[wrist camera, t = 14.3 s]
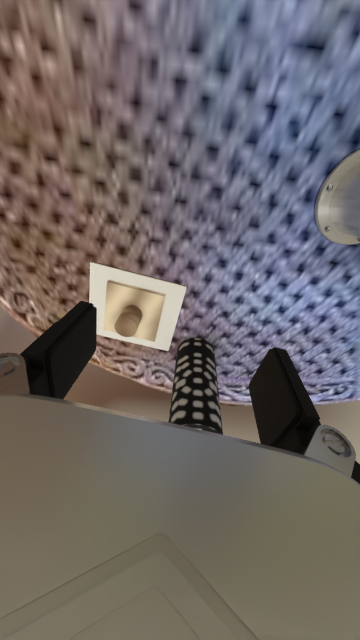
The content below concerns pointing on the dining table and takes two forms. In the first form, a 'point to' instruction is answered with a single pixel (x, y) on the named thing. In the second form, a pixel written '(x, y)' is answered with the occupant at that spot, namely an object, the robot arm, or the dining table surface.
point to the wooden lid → (132, 311)
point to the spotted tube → (196, 387)
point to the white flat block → (172, 290)
